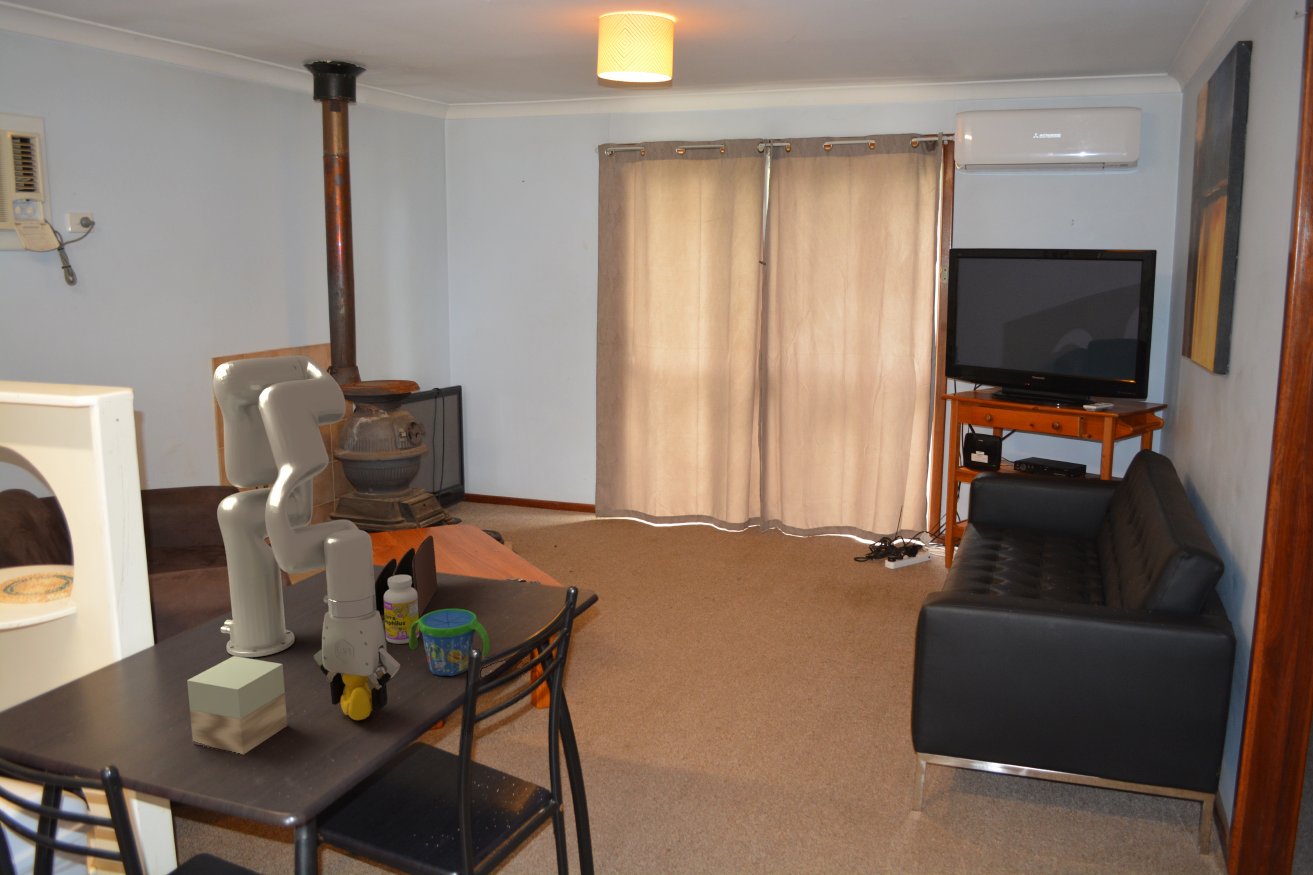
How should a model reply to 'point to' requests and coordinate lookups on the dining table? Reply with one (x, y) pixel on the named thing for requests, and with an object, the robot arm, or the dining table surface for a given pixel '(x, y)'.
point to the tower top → (236, 687)
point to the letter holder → (416, 567)
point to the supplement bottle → (400, 609)
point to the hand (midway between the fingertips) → (359, 703)
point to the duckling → (356, 697)
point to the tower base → (239, 727)
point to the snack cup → (448, 639)
